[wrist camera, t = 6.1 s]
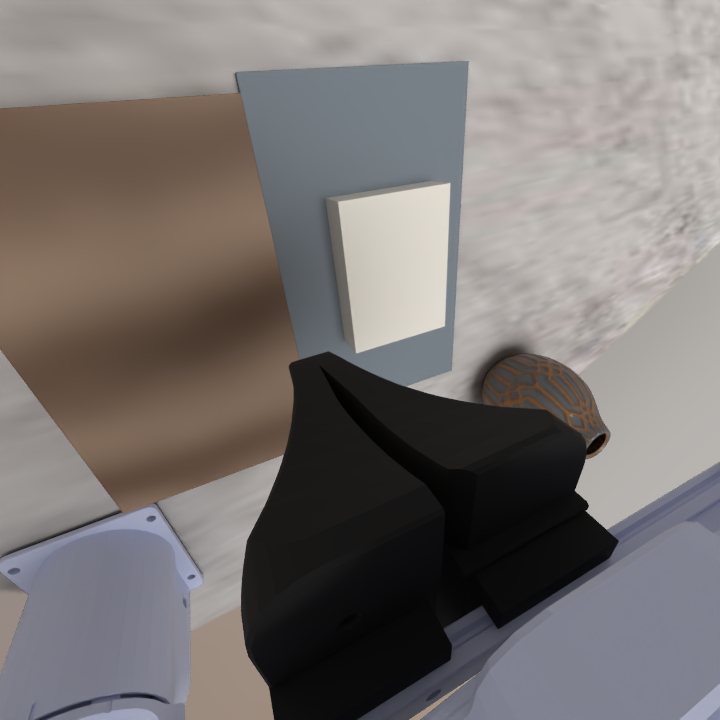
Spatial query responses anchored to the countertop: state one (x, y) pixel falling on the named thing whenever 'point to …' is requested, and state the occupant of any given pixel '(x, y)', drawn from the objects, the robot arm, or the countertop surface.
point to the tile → (390, 261)
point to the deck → (145, 289)
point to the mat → (354, 184)
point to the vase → (547, 394)
